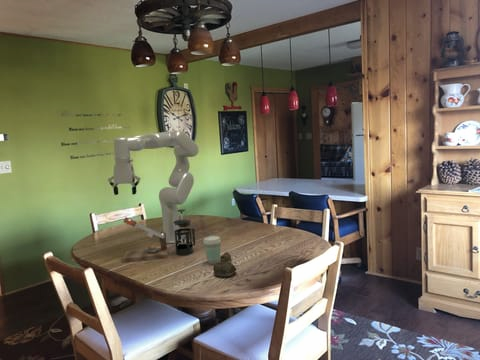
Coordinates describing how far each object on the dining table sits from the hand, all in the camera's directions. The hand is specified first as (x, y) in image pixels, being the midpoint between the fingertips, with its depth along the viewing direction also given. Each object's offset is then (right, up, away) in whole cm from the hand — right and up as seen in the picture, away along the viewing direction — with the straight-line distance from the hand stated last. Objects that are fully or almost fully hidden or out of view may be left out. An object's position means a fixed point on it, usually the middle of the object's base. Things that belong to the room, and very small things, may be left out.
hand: (125, 194), depth 196 cm
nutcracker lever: (+10, -20, -3) cm, 22 cm away
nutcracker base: (+11, -32, -1) cm, 34 cm away
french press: (+31, -31, +2) cm, 44 cm away
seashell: (+52, -34, -32) cm, 70 cm away
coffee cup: (+47, -32, -15) cm, 59 cm away
